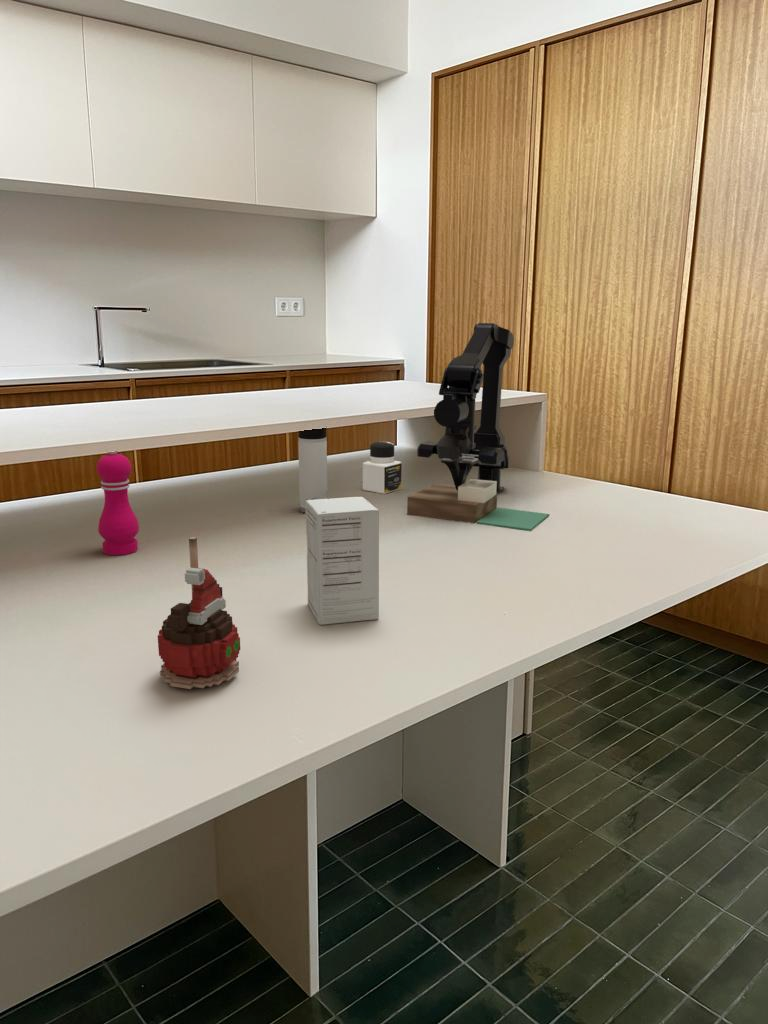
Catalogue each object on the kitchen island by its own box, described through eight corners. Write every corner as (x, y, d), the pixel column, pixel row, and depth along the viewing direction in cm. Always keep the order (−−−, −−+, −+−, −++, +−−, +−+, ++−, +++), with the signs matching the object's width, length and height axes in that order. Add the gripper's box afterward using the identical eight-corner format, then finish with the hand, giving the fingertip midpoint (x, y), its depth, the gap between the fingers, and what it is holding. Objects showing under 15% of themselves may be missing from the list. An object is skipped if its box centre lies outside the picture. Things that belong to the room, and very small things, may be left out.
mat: (497, 509, 182) (497, 507, 182) (549, 515, 177) (549, 514, 177) (476, 523, 170) (476, 521, 170) (530, 531, 165) (530, 529, 164)
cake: (189, 653, 106) (181, 523, 101) (253, 663, 103) (248, 529, 99) (143, 689, 96) (132, 547, 91) (213, 700, 93) (205, 554, 89)
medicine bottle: (384, 494, 195) (385, 446, 192) (362, 490, 200) (362, 443, 197) (401, 489, 201) (402, 442, 198) (379, 485, 205) (379, 439, 202)
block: (470, 491, 181) (471, 478, 180) (496, 494, 179) (496, 481, 178) (457, 500, 173) (458, 486, 172) (484, 503, 171) (484, 489, 170)
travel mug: (311, 515, 175) (310, 425, 170) (294, 509, 180) (292, 421, 175) (333, 511, 179) (333, 422, 174) (316, 505, 184) (315, 419, 179)
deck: (432, 501, 189) (432, 484, 188) (496, 509, 182) (497, 492, 181) (407, 514, 177) (407, 496, 176) (474, 523, 170) (475, 505, 169)
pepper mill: (129, 542, 154) (121, 440, 149) (147, 550, 149) (140, 445, 144) (93, 550, 149) (84, 445, 144) (111, 559, 144) (102, 450, 139)
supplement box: (380, 620, 118) (381, 509, 113) (319, 626, 115) (317, 514, 111) (363, 597, 126) (363, 494, 122) (306, 603, 124) (304, 498, 120)
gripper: (406, 422, 171) (405, 492, 175) (489, 429, 162) (485, 503, 166) (428, 416, 180) (426, 483, 184) (506, 422, 172) (503, 492, 176)
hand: (458, 490), depth 177 cm, fingers closed
